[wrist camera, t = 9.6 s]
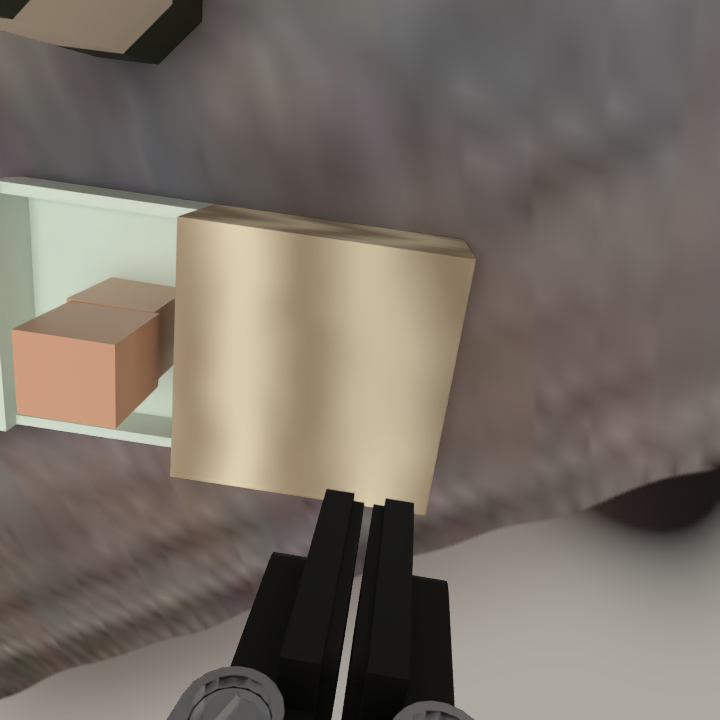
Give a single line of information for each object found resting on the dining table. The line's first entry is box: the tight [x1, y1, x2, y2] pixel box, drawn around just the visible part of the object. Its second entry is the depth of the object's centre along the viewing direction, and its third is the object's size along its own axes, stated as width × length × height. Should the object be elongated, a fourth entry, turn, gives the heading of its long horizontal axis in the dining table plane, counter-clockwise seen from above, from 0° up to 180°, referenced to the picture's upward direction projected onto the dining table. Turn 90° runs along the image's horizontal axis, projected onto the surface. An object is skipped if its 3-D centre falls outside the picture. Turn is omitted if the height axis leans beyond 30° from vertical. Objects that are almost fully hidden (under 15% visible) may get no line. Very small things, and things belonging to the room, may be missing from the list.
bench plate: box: [170, 204, 476, 515], centre depth 33 cm, size 14×14×6 cm
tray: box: [0, 176, 213, 447], centre depth 35 cm, size 11×14×4 cm
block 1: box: [66, 277, 175, 379], centre depth 34 cm, size 5×4×4 cm
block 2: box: [11, 300, 160, 429], centre depth 29 cm, size 5×4×4 cm
